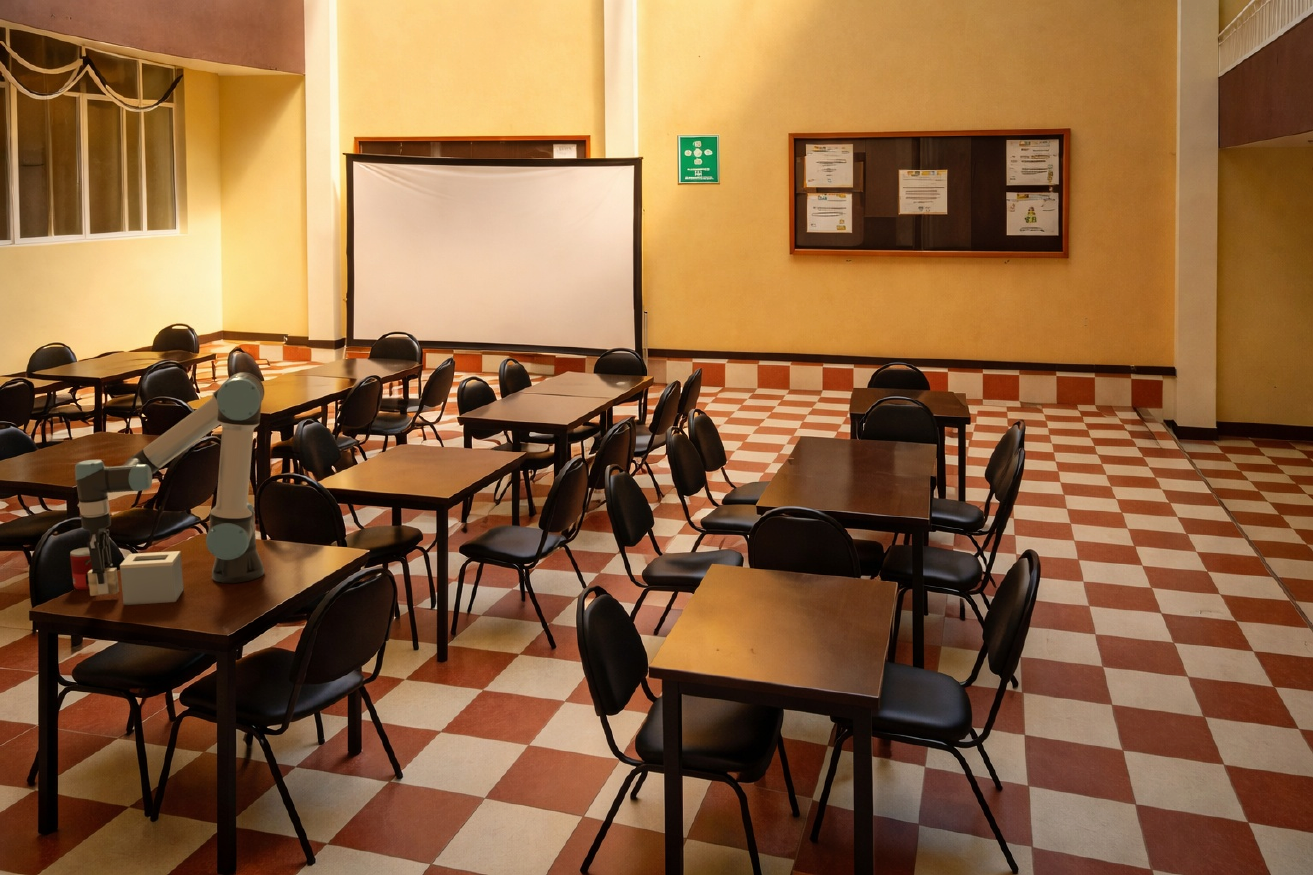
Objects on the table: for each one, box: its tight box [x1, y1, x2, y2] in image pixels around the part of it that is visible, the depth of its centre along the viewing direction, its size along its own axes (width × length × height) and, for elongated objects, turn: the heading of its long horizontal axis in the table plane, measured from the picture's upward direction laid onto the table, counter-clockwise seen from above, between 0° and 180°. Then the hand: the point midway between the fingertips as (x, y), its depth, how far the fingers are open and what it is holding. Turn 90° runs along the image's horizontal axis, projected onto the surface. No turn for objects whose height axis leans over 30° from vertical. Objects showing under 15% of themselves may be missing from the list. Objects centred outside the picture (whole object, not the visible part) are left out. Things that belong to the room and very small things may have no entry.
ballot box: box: [119, 550, 184, 606], centre depth 320 cm, size 14×11×12 cm
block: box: [88, 567, 120, 597], centre depth 318 cm, size 7×3×7 cm, turn 102°
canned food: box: [69, 546, 92, 591], centre depth 330 cm, size 8×8×11 cm
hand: (105, 591), depth 319 cm, fingers closed on block, 3 cm apart
